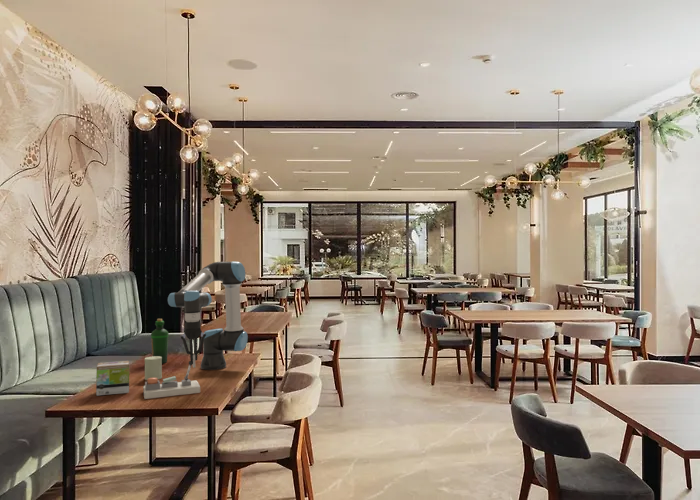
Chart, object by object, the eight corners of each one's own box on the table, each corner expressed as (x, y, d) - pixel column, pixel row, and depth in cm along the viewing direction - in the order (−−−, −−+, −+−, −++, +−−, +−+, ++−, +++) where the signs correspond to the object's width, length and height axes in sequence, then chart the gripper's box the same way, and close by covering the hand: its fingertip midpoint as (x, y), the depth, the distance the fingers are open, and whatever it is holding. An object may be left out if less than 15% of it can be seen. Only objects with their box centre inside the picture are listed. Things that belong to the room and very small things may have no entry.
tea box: (96, 396, 250) (95, 366, 251) (97, 391, 260) (96, 362, 260) (129, 393, 256) (129, 363, 257) (129, 388, 266) (129, 359, 266)
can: (156, 380, 281) (155, 358, 281) (141, 380, 283) (140, 358, 283) (165, 376, 290) (165, 355, 290) (150, 376, 292) (150, 355, 292)
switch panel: (196, 385, 269) (196, 374, 269) (200, 392, 256) (200, 380, 256) (143, 391, 258) (143, 380, 258) (144, 399, 245) (144, 386, 245)
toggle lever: (187, 379, 261) (193, 360, 263) (188, 380, 259) (193, 361, 260) (183, 379, 261) (189, 359, 262) (183, 380, 258) (189, 360, 260)
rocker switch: (175, 378, 260) (175, 375, 260) (176, 379, 256) (175, 377, 256) (163, 381, 257) (162, 379, 257) (163, 383, 254) (163, 380, 254)
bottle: (162, 360, 335) (162, 317, 335) (172, 362, 328) (171, 318, 328) (147, 363, 326) (147, 319, 326) (157, 365, 320) (157, 320, 320)
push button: (157, 383, 257) (157, 377, 257) (157, 385, 252) (157, 379, 252) (147, 384, 255) (147, 378, 255) (147, 386, 250) (147, 380, 250)
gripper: (180, 322, 256) (182, 370, 255) (206, 320, 261) (207, 366, 261) (179, 321, 262) (180, 367, 262) (204, 319, 268) (205, 364, 267)
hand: (194, 367), depth 261 cm, fingers closed
